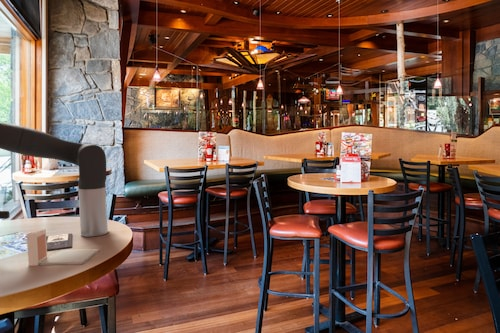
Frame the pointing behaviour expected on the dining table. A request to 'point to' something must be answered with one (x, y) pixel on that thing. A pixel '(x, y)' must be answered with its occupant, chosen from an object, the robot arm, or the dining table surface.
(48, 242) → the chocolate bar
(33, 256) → the deck box
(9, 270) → the dining table surface
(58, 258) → the mat
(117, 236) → the dining table surface
